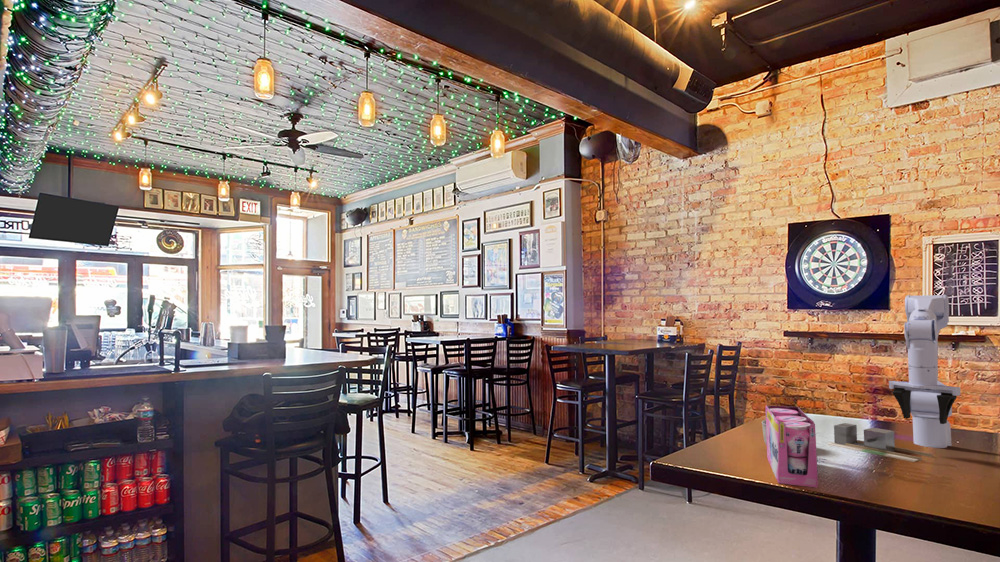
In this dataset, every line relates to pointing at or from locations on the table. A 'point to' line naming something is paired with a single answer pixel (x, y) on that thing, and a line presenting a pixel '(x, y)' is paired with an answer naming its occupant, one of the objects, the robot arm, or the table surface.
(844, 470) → the table surface
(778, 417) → the gum box
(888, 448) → the gauge carriage
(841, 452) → the table surface
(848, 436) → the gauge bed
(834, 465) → the table surface
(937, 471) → the table surface
